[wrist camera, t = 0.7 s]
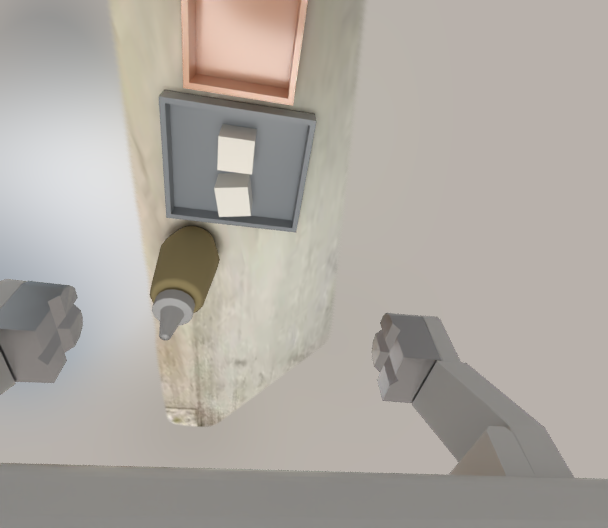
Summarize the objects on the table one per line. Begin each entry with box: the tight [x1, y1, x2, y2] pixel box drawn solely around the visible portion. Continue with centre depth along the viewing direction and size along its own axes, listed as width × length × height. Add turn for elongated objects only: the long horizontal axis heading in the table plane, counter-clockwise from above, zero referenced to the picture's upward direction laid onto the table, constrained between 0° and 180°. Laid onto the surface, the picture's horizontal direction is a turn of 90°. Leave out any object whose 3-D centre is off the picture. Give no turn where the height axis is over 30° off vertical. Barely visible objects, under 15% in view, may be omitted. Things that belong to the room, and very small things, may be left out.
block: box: [214, 173, 253, 217], centre depth 48 cm, size 4×4×4 cm
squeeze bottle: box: [150, 226, 220, 340], centre depth 48 cm, size 8×8×18 cm
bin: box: [181, 0, 308, 106], centre depth 37 cm, size 11×11×5 cm
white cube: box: [217, 124, 257, 175], centre depth 44 cm, size 4×4×4 cm
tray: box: [159, 90, 316, 232], centre depth 47 cm, size 15×17×3 cm
